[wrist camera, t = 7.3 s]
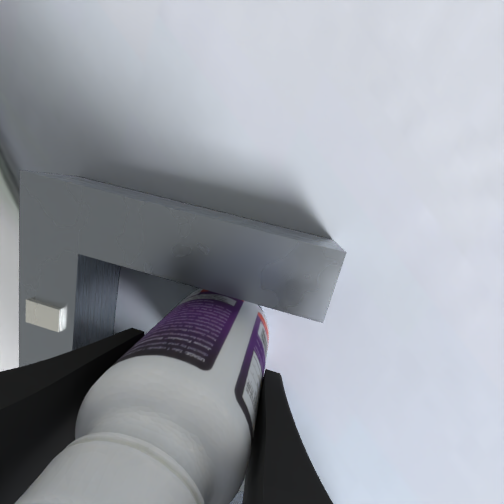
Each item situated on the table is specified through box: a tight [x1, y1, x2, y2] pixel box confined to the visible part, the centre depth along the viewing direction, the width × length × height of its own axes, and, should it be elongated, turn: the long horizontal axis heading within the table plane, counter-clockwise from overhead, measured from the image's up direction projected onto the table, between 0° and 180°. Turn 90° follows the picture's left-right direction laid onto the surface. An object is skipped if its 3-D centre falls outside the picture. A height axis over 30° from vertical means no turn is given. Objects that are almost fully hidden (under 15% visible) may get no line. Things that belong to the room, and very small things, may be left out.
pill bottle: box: [14, 288, 269, 504], centre depth 9 cm, size 5×5×10 cm
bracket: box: [19, 170, 346, 492], centre depth 13 cm, size 13×14×3 cm
